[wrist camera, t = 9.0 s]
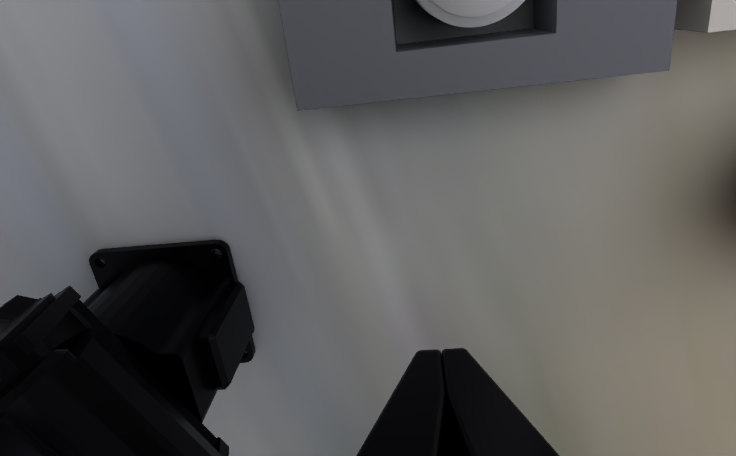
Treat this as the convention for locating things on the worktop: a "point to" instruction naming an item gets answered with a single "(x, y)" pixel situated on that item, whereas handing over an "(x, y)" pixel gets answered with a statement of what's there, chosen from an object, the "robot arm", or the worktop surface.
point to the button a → (469, 11)
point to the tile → (705, 15)
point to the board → (466, 50)
